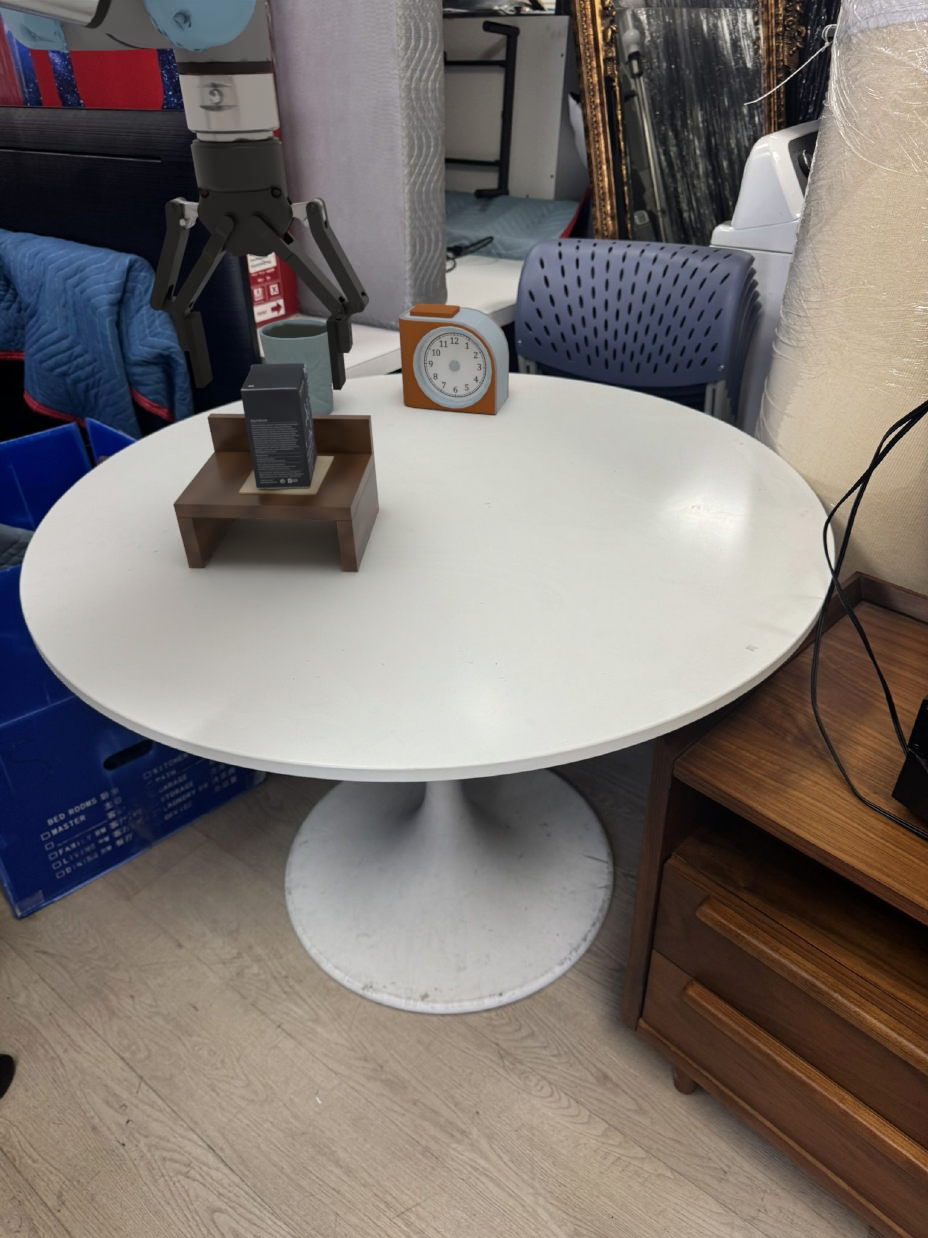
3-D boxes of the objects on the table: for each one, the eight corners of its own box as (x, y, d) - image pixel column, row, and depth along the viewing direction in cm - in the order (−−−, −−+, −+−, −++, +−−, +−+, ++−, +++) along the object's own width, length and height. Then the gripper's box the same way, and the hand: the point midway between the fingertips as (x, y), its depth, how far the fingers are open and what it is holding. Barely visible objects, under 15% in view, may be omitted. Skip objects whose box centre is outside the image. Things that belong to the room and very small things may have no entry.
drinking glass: (259, 409, 123) (245, 328, 116) (315, 392, 128) (305, 313, 121) (296, 428, 116) (284, 343, 109) (353, 409, 122) (345, 327, 115)
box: (312, 488, 83) (298, 387, 77) (256, 490, 83) (237, 389, 77) (318, 456, 90) (306, 360, 84) (266, 458, 89) (250, 362, 83)
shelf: (188, 567, 86) (163, 467, 79) (229, 505, 97) (210, 413, 91) (357, 571, 85) (346, 469, 78) (379, 508, 96) (370, 414, 89)
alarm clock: (399, 407, 122) (393, 313, 115) (417, 387, 129) (413, 298, 121) (494, 415, 119) (495, 320, 111) (508, 395, 125) (510, 304, 118)
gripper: (71, 139, 66) (134, 395, 78) (375, 138, 65) (391, 399, 77) (110, 132, 72) (163, 370, 84) (389, 130, 71) (402, 373, 83)
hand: (271, 384), depth 81 cm, fingers open, 13 cm apart
